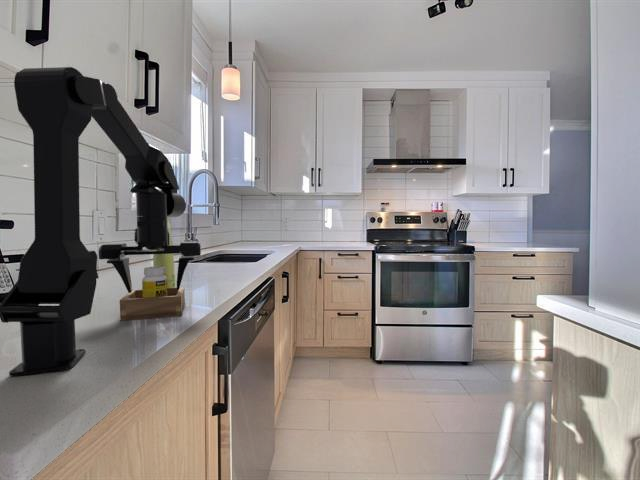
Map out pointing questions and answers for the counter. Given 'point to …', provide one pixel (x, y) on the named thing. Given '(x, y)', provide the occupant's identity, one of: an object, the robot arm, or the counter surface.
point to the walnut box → (152, 305)
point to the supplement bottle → (154, 282)
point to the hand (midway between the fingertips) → (154, 291)
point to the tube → (166, 263)
